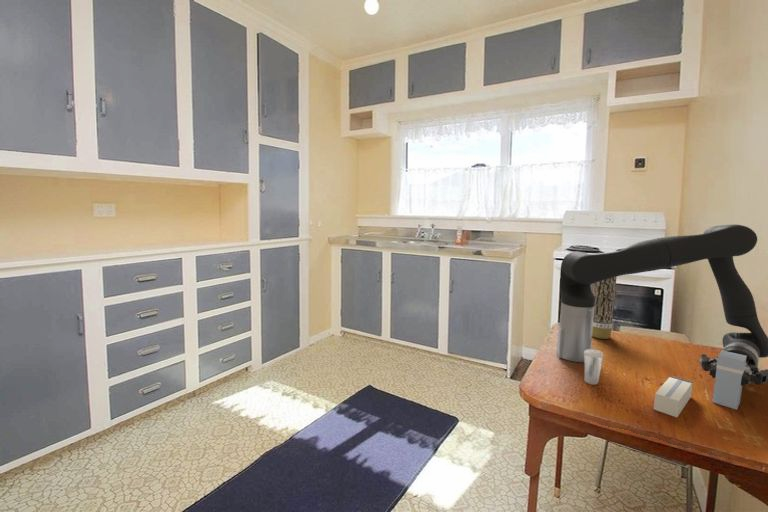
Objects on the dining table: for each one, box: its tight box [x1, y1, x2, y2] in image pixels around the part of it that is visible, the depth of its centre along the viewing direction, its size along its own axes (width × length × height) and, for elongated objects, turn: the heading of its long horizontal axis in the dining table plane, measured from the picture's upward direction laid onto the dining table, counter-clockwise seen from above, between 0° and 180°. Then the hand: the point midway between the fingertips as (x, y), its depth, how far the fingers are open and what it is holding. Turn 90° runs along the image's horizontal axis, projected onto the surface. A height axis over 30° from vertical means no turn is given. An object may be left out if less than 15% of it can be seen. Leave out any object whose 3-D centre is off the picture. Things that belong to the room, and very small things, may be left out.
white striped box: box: [653, 375, 693, 418], centre depth 92 cm, size 15×4×4 cm, turn 131°
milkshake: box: [583, 342, 604, 385], centre depth 102 cm, size 4×5×10 cm
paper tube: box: [592, 277, 617, 340], centre depth 136 cm, size 7×7×25 cm
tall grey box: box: [711, 349, 747, 410], centre depth 92 cm, size 5×5×12 cm
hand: (728, 377), depth 90 cm, fingers closed on tall grey box, 4 cm apart
